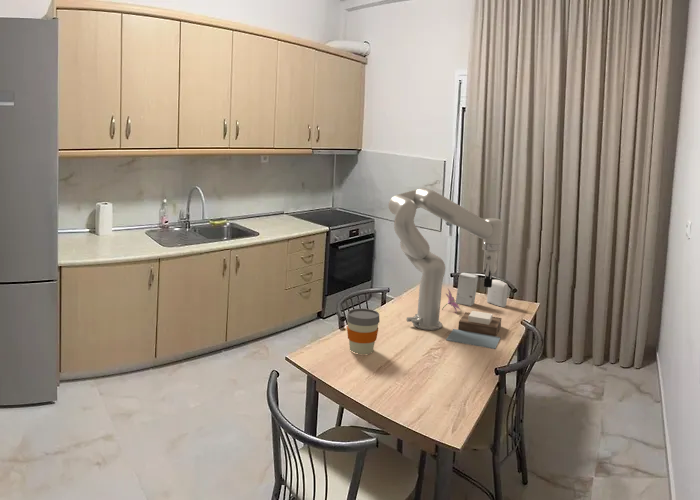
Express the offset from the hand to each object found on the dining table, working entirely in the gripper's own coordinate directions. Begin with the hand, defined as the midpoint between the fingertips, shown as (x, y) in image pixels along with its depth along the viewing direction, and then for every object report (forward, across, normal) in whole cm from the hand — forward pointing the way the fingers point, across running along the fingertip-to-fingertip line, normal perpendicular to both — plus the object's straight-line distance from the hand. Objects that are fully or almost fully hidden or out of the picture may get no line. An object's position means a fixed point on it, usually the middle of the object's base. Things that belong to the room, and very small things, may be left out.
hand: (487, 286), depth 269 cm
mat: (+16, -24, +1) cm, 29 cm away
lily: (+17, +9, +17) cm, 26 cm away
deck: (+17, -10, +1) cm, 19 cm away
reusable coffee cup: (+16, -58, +38) cm, 71 cm away
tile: (+13, -10, 0) cm, 16 cm away
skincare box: (+17, +24, +13) cm, 32 cm away
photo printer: (+17, +30, -1) cm, 35 cm away
